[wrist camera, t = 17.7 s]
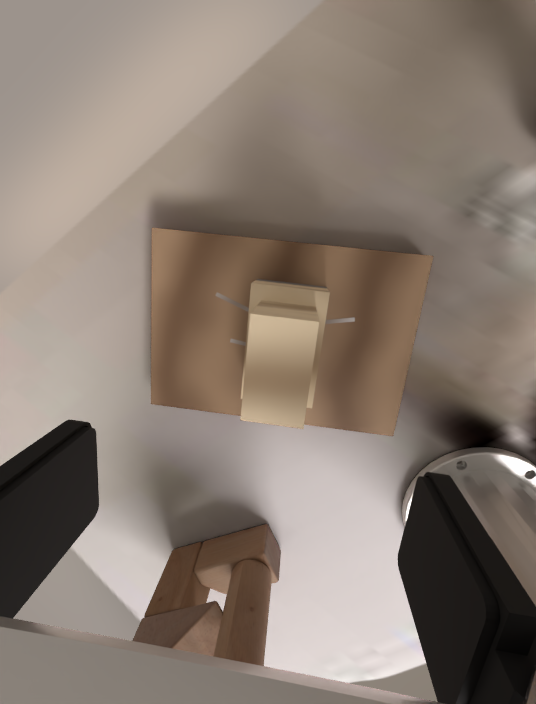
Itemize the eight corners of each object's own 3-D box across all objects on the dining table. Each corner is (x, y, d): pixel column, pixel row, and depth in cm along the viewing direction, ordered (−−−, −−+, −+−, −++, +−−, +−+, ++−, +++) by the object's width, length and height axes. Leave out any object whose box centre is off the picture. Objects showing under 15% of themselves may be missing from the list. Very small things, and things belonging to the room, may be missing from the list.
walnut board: (423, 255, 26) (433, 256, 24) (387, 424, 30) (393, 436, 28) (162, 229, 27) (151, 227, 26) (160, 394, 31) (150, 404, 30)
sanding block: (258, 278, 26) (237, 292, 18) (326, 286, 26) (337, 304, 17) (248, 380, 28) (225, 434, 20) (310, 388, 28) (314, 447, 20)
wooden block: (171, 547, 36) (53, 817, 19) (268, 521, 34) (233, 795, 17) (187, 575, 37) (87, 857, 20) (282, 550, 35) (263, 841, 18)
